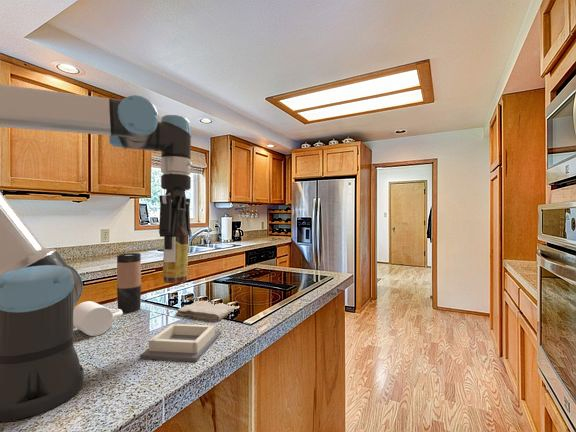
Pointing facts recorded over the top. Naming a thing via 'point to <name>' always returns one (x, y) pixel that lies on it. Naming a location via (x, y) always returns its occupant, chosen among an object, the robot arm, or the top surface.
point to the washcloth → (206, 310)
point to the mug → (94, 318)
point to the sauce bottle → (178, 253)
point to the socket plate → (181, 342)
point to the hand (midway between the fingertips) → (175, 259)
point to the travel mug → (129, 282)
